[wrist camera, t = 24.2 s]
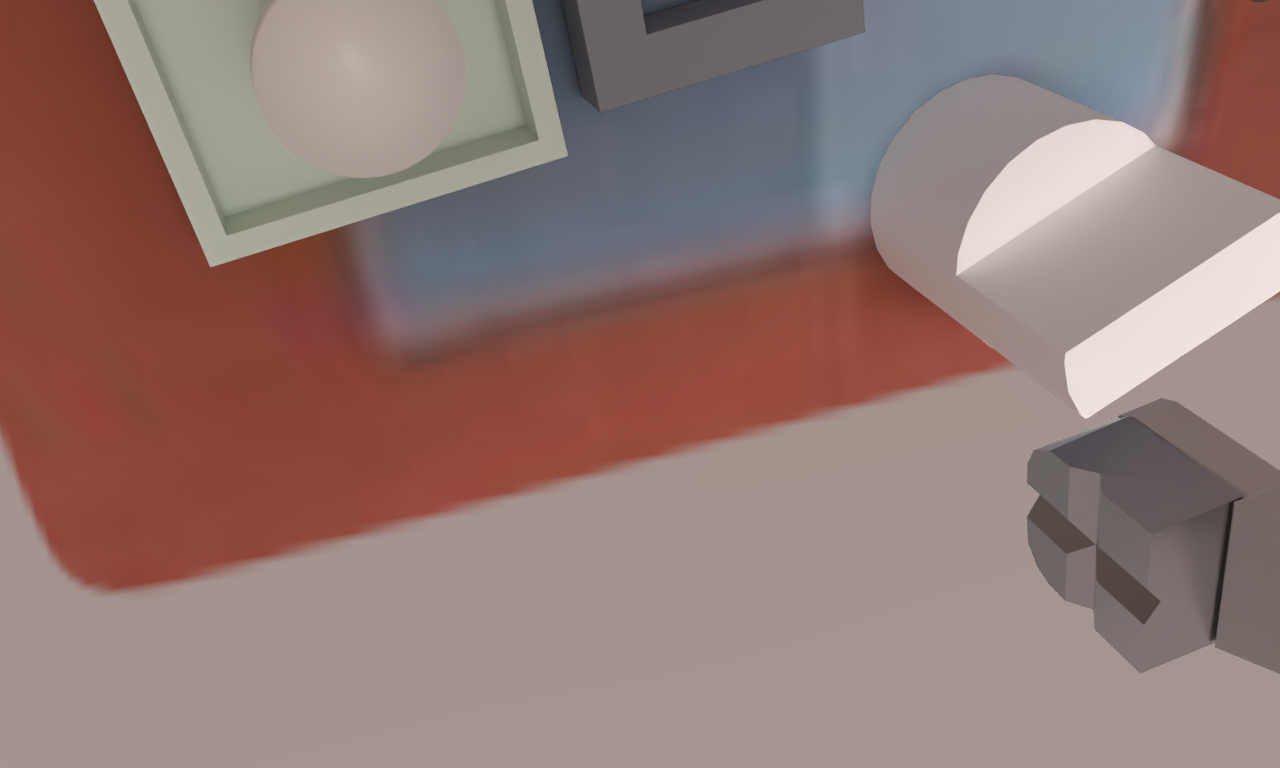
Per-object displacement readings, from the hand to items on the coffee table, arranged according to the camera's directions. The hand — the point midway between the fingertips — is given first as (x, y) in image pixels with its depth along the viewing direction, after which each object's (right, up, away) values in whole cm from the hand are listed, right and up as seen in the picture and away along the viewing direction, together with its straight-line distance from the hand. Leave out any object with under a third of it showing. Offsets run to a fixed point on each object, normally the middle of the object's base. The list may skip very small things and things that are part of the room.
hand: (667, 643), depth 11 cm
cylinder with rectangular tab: (+13, +10, +35) cm, 39 cm away
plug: (-9, +13, +23) cm, 29 cm away
